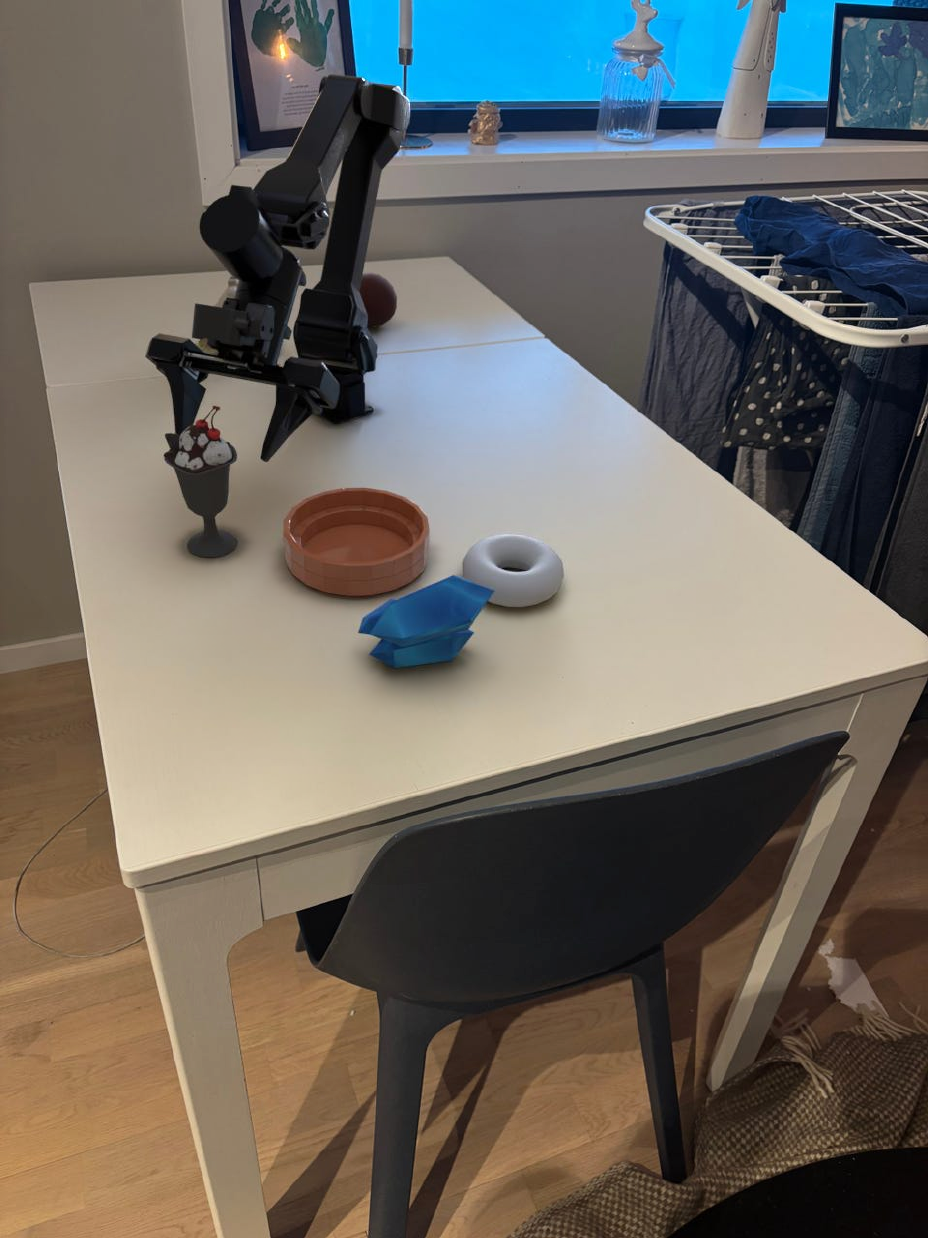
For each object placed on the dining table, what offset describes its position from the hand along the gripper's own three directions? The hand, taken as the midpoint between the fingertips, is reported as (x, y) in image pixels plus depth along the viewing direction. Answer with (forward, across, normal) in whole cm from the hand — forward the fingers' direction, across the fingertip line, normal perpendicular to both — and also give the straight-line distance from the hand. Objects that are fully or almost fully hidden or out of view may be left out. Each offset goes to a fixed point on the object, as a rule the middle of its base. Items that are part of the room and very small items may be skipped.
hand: (221, 452), depth 92 cm
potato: (-35, -7, +48) cm, 60 cm away
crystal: (+15, +26, -3) cm, 30 cm away
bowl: (+7, +14, +6) cm, 17 cm away
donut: (+6, +30, +7) cm, 32 cm away
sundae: (+9, 0, +4) cm, 10 cm away
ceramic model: (-24, -21, +37) cm, 49 cm away
